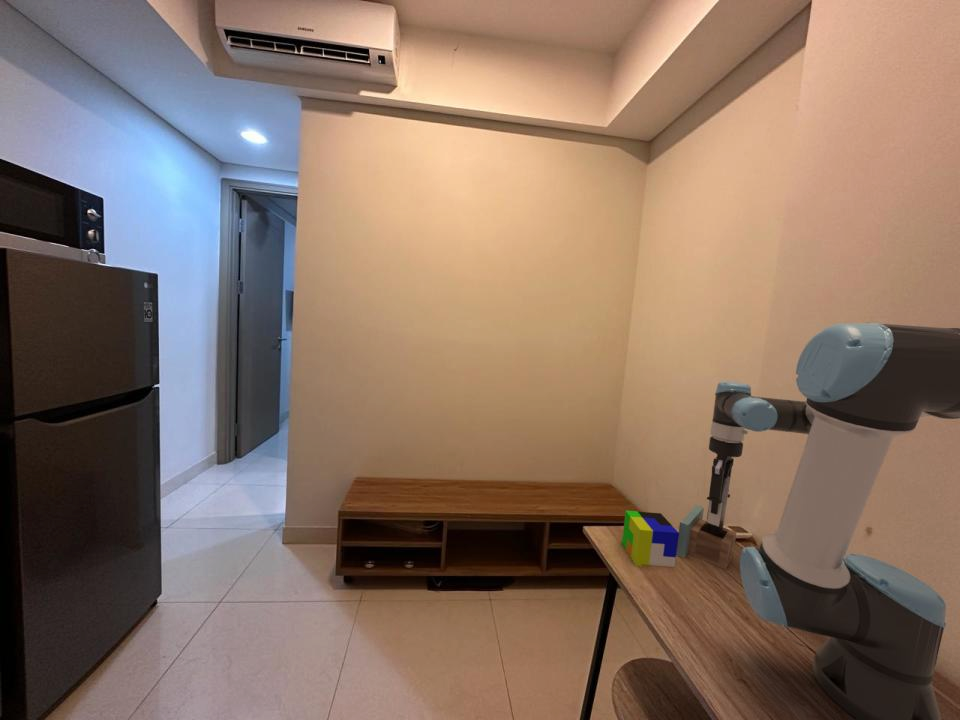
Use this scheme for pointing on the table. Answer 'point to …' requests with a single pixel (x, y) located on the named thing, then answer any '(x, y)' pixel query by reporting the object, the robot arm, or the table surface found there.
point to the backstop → (688, 529)
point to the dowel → (715, 529)
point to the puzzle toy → (650, 539)
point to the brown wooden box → (711, 545)
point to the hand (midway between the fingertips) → (715, 521)
